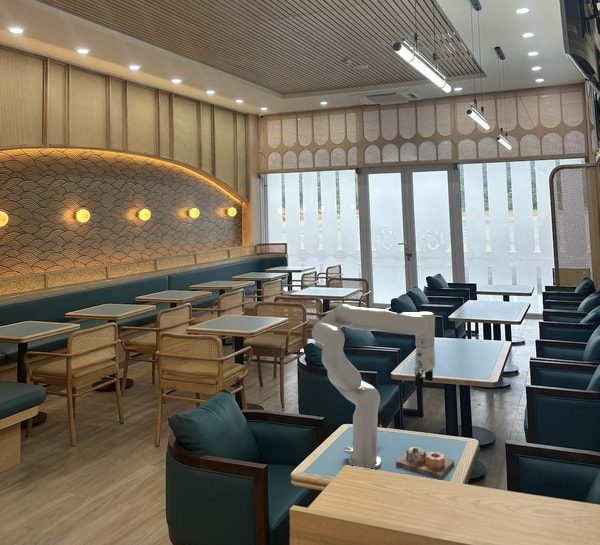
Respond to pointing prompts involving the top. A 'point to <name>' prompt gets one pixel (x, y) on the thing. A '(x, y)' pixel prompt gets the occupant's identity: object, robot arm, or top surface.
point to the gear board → (422, 462)
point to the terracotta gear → (435, 459)
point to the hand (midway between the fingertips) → (424, 383)
